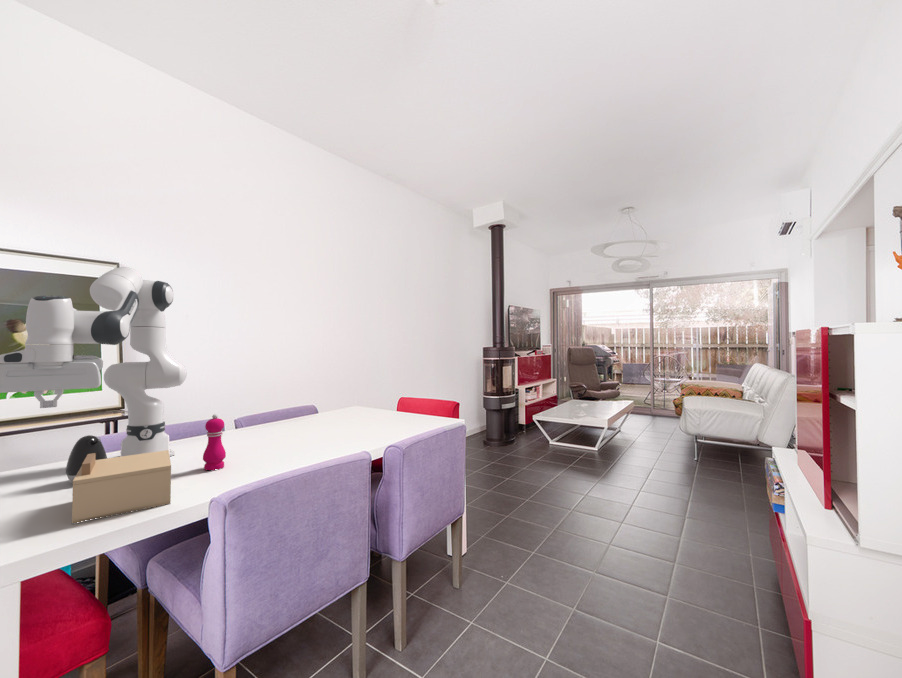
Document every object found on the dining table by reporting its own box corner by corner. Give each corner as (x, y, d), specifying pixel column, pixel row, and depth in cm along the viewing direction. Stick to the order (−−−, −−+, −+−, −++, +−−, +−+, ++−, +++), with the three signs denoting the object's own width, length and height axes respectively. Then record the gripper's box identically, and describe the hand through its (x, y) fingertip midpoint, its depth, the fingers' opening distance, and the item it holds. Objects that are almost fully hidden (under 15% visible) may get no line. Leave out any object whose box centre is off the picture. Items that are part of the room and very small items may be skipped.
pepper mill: (230, 465, 141) (231, 413, 141) (213, 472, 134) (214, 416, 134) (215, 464, 143) (215, 412, 143) (197, 470, 136) (198, 415, 136)
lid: (83, 465, 110) (84, 451, 110) (168, 453, 123) (168, 440, 123) (72, 485, 94) (73, 469, 95) (171, 468, 107) (171, 455, 107)
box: (83, 499, 110) (83, 465, 110) (167, 483, 123) (168, 453, 123) (71, 524, 94) (72, 485, 95) (170, 503, 107) (171, 469, 107)
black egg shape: (77, 488, 118) (78, 440, 119) (57, 484, 122) (58, 437, 122) (115, 477, 128) (116, 433, 128) (96, 474, 131) (96, 431, 132)
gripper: (104, 354, 108) (103, 402, 108) (-5, 355, 95) (-6, 409, 95) (101, 355, 103) (100, 405, 103) (-13, 356, 91) (-15, 413, 90)
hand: (48, 407), depth 99 cm, fingers closed
